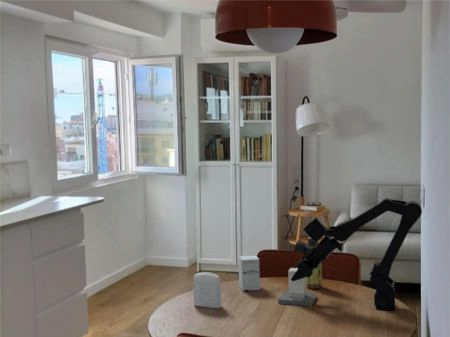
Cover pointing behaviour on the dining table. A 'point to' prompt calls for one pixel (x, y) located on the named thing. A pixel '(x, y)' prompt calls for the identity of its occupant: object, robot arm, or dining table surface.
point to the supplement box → (249, 273)
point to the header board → (295, 301)
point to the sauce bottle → (316, 277)
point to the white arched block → (207, 290)
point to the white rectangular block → (296, 285)
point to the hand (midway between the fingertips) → (293, 278)
